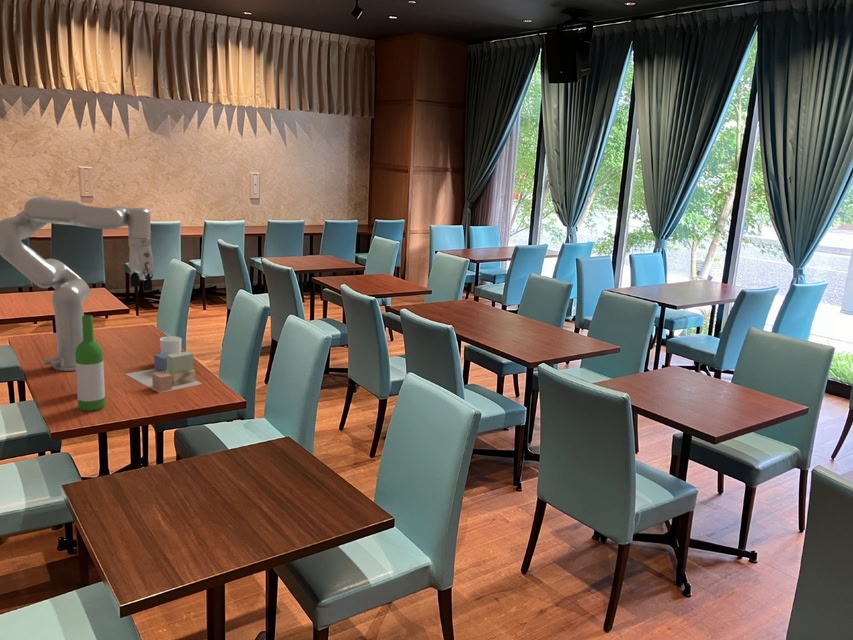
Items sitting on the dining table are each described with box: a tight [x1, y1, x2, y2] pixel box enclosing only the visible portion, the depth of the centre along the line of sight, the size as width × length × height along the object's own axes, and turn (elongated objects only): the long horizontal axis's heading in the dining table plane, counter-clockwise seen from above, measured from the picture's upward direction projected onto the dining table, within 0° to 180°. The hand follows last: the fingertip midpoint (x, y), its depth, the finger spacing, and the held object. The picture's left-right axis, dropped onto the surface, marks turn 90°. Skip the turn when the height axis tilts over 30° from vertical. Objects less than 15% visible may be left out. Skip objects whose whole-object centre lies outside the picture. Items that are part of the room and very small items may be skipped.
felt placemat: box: [125, 368, 203, 394], centre depth 248 cm, size 16×26×1 cm, turn 48°
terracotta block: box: [152, 371, 172, 391], centre depth 238 cm, size 4×6×5 cm, turn 48°
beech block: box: [166, 369, 196, 385], centre depth 246 cm, size 8×6×4 cm
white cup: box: [159, 335, 182, 355], centre depth 266 cm, size 8×8×10 cm
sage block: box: [167, 350, 195, 374], centre depth 245 cm, size 8×4×6 cm, turn 138°
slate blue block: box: [153, 352, 168, 372], centre depth 256 cm, size 7×4×6 cm, turn 48°
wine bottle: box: [75, 314, 106, 412], centre depth 214 cm, size 8×8×30 cm
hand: (141, 288), depth 254 cm, fingers open, 9 cm apart
